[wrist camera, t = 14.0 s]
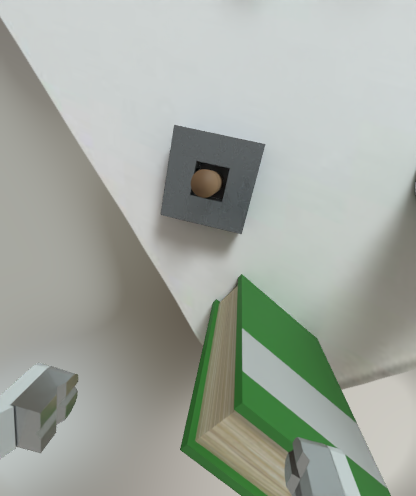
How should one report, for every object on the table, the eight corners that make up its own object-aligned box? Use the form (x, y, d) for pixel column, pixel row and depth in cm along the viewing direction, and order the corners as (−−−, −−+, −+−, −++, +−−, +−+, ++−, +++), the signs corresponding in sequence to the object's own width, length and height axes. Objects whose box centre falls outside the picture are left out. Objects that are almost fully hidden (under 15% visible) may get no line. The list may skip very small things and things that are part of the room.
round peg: (225, 173, 36) (220, 172, 27) (220, 194, 37) (214, 200, 28) (204, 168, 36) (193, 166, 28) (200, 190, 37) (188, 194, 28)
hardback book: (213, 302, 42) (180, 449, 19) (241, 274, 40) (242, 402, 17) (285, 363, 44) (334, 565, 21) (317, 339, 42) (409, 535, 19)
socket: (262, 147, 34) (265, 144, 30) (241, 228, 38) (241, 234, 34) (181, 130, 35) (174, 124, 31) (168, 211, 39) (160, 214, 35)
